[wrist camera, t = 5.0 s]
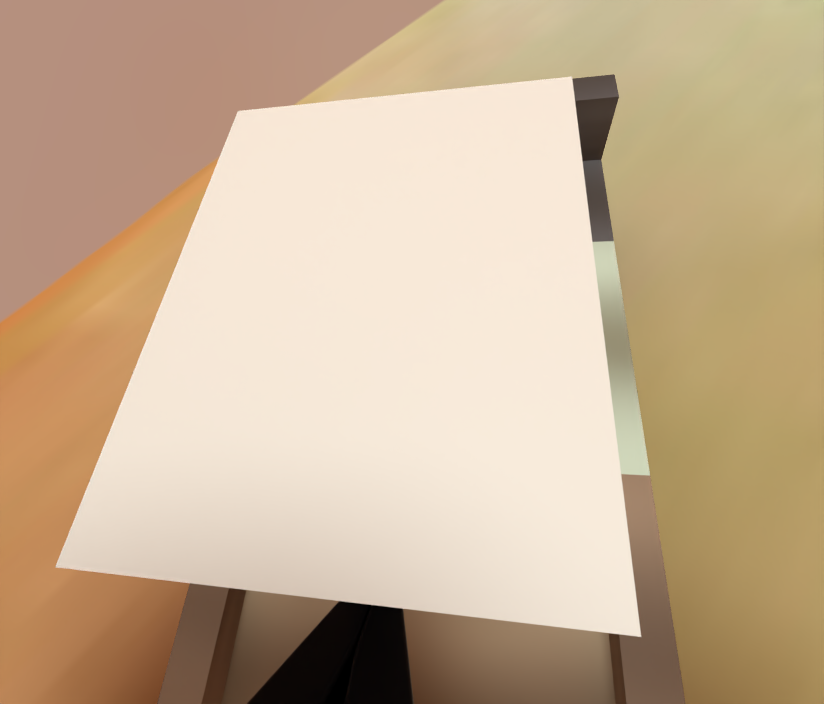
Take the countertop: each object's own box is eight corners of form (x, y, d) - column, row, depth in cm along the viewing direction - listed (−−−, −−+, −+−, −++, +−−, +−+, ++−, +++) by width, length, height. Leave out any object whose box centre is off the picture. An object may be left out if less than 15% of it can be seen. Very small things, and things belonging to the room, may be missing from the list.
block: (544, 590, 11) (640, 637, 4) (299, 564, 13) (54, 567, 5) (532, 303, 15) (571, 77, 8) (345, 305, 16) (238, 111, 9)
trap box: (675, 1009, 10) (912, 1573, 4) (185, 883, 12) (-66, 1148, 6) (580, 204, 20) (614, 74, 15) (330, 217, 22) (281, 108, 17)
